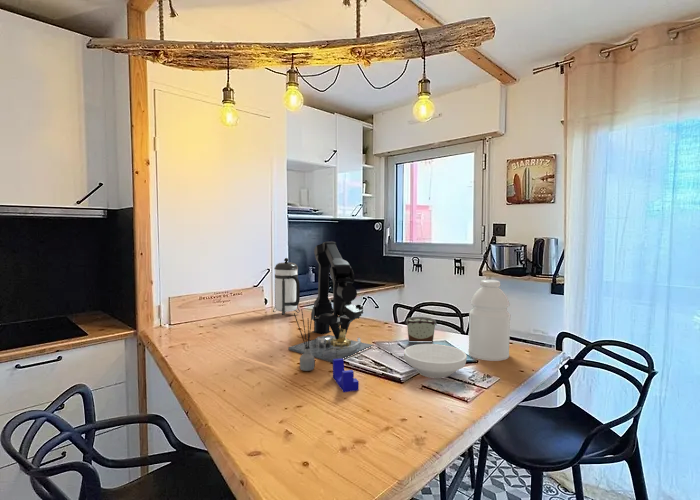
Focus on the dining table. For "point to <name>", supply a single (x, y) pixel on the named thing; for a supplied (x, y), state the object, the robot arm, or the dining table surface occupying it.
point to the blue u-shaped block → (344, 376)
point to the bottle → (489, 323)
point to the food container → (420, 328)
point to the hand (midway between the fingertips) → (340, 337)
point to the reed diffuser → (306, 351)
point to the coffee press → (286, 287)
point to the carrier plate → (330, 348)
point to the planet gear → (341, 339)
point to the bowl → (435, 359)
